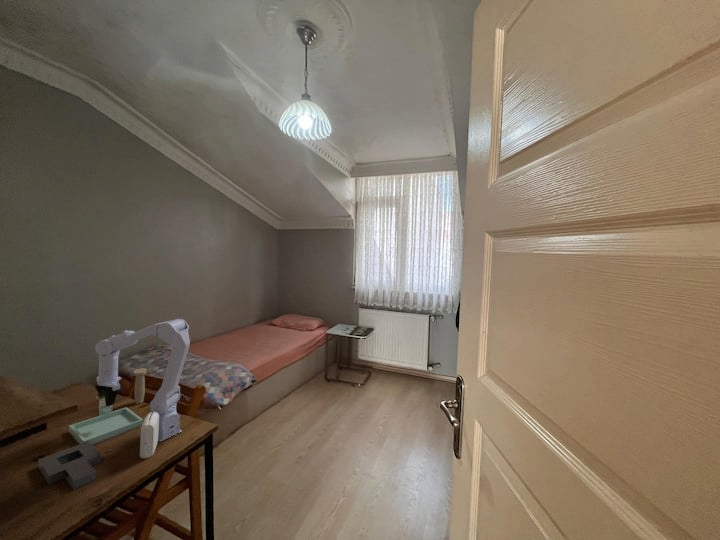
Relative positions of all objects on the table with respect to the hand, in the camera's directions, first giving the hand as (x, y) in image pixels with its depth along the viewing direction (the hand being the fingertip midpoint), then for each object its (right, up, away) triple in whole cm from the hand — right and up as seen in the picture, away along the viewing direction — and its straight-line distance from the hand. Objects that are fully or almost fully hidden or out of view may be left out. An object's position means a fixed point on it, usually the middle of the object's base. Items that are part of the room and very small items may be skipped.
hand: (107, 403), depth 113 cm
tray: (-1, -10, +1) cm, 10 cm away
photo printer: (+23, -12, -10) cm, 28 cm away
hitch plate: (+8, -11, -21) cm, 25 cm away
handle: (-4, -10, +22) cm, 24 cm away
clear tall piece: (0, -3, 0) cm, 3 cm away
